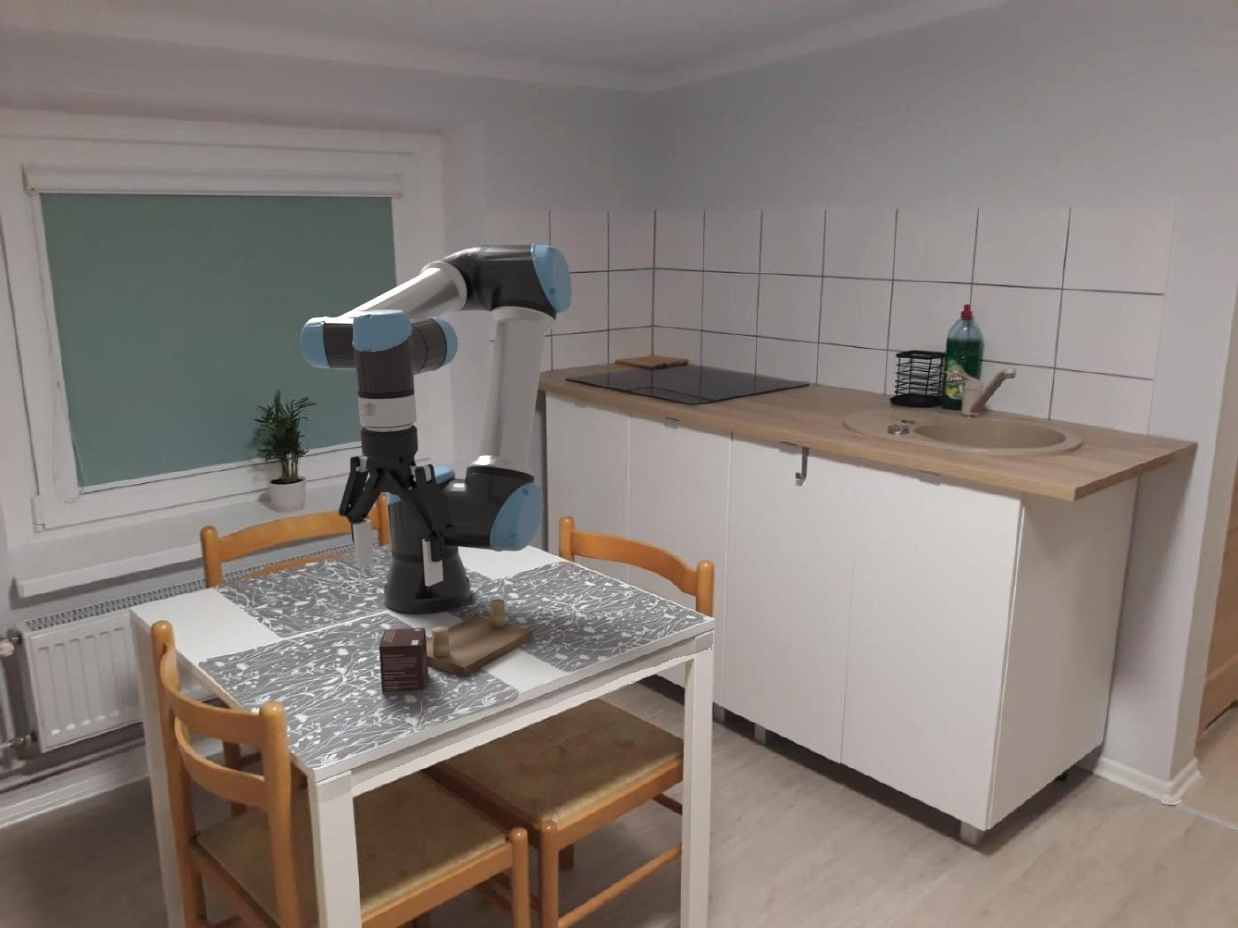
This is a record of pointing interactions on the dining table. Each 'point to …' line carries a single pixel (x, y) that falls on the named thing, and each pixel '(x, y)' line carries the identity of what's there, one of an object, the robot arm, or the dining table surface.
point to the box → (403, 660)
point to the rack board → (475, 642)
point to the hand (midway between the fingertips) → (398, 574)
